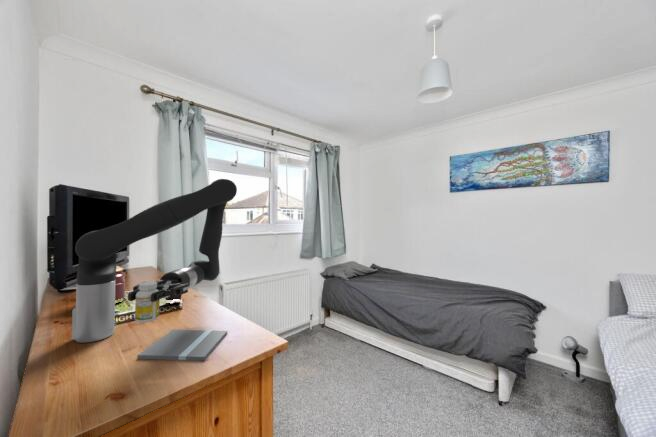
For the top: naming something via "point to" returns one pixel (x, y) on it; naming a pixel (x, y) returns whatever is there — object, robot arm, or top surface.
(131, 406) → the top surface
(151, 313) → the supplement bottle
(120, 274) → the canister
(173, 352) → the floor panel
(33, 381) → the top surface
